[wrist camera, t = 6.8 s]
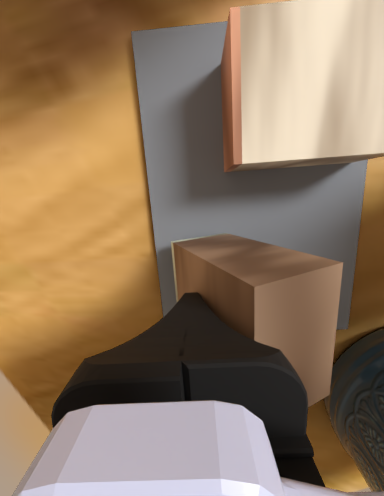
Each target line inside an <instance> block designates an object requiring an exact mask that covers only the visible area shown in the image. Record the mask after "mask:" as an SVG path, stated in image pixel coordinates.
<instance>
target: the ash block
mask: <svg viewBox="0 0 384 496" xmlns="http://www.w3.org/2000/svg"><path fill="white" fill-rule="evenodd" d="M221 91H222V122H223V153H224V172H235V171H248V170H261V169H274V168H287V167H301V166H314V165H327V164H340V163H352V162H357V161H362V160H367V159H372V158H377V157H382V156H384V0H294V1H285V2H276V3H267V4H258V5H249V6H239V7H230V12H229V18H228V23H227V29H226V35H225V41H224V47H223V53H222V59H221Z"/></svg>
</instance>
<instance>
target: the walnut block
mask: <svg viewBox="0 0 384 496" xmlns="http://www.w3.org/2000/svg"><path fill="white" fill-rule="evenodd" d="M171 247H172V258H173V269H174V279H175V290H176V300H177V302H178V301H179V299H180V298H181V297H182V296H183V294H184V293H191V292H198V293H199V294H200V295H201V297H202V299H203V300H204V302H205V303H206V305H207V306H208V307H209V308H210V310H211V311H212V312H213V313H214V314H215V315H216V316H217V317H218V318H219V319H220V320H221V321H222V322H223V323H225V324H226V325H227V326H229V327H230V328H232V329H233V330H235V331H237V332H238V333H240V334H242V335H244V336H246V337H248V338H250V339H252V340H254V341H257V342H259V343H262V344H265V345H268V346H271V347H274V348H277V349H280V350H281V351H282V353H283V354H284V355H285V357H286V358H287V359H288V361H289V362H290V363H291V365H292V366H293V368H294V369H295V370H296V372H297V374H298V375H299V377H300V379H301V381H302V383H303V385H304V387H305V389H306V391H307V397H308V407H310V406H312V405H313V404H315V403H317V402H318V401H320V400H322V399H323V398H325V397H327V396H328V395H330V385H331V376H332V366H333V356H334V347H335V337H336V327H337V317H338V308H339V298H340V288H341V279H342V269H343V262H339V261H335V260H331V259H327V258H323V257H319V256H315V255H311V254H307V253H303V252H299V251H295V250H291V249H287V248H284V247H280V246H276V245H272V244H268V243H264V242H260V241H256V240H252V239H248V238H244V237H240V236H236V235H232V234H228V233H223V234H216V235H210V236H203V237H197V238H190V239H184V240H177V241H171Z"/></svg>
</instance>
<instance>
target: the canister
mask: <svg viewBox="0 0 384 496" xmlns="http://www.w3.org/2000/svg"><path fill="white" fill-rule="evenodd" d="M324 402H325V407H326V410H327V413H328V415H329V417H330V421H331V424H332V427H333V429H334V432H335V434H336V435H337V437H338V438H339V440H340V442H341V444H342V446H343V448H344V449H345V451H346V452H347V453H348V454H349V456H350V457H351V458H352V459H353V460H354V462H355V464H356V465H357V467H358V469H359V471H360V472H361V474H362V476H363V478H364V479H365V481H366V483H367V484H368V486H369V488H370V490H371V491H372V492H384V328H383V329H380V330H378V331H375V332H373V333H371V334H369V335H367V336H365V337H364V338H362V339H360V340H359V341H357V342H356V343H355V344H353V345H352V346H351V347H350V348H348V349H347V350H346V351H345V352H344V353H343V354H342V355H341V356H340V358H339V359H338V360H337V361H336V363H335V364H334V366H333V367H332V376H331V385H330V395H328V396H327V397H325V398H324Z"/></svg>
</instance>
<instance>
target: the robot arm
mask: <svg viewBox="0 0 384 496" xmlns="http://www.w3.org/2000/svg"><path fill="white" fill-rule="evenodd" d="M307 413H308V397H307V391H306V389H305V387H304V385H303V383H302V381H301V379H300V377H299V375H298V374H297V372H296V370H295V369H294V368H293V366H292V365H291V363H290V362H289V361H288V359H287V358H286V357H285V355H284V354H283V353H282V351H281V350H280V349H277V348H274V347H271V346H268V345H265V344H262V343H259V342H257V341H254V340H252V339H250V338H248V337H246V336H244V335H242V334H240V333H238V332H237V331H235V330H233V329H232V328H230V327H229V326H227V325H226V324H225V323H223V322H222V321H221V320H220V319H219V318H218V317H217V316H216V315H215V314H214V313H213V312H212V311H211V310H210V308H209V307H208V306H207V305H206V303H205V302H204V300H203V299H202V297H201V295H200V294H199V293H198V292H191V293H184V294H183V296H182V297H181V298H180V299H179V301H178V302H177V303H176V304H175V306H174V307H173V308H172V309H171V310H170V311H169V312H168V313H167V314H166V315H165V316H164V317H163V318H162V319H161V320H160V321H159V322H157V323H156V324H155V325H154V326H152V327H151V328H149V329H148V330H146V331H145V332H143V333H142V334H140V335H138V336H137V337H135V338H133V339H132V340H130V341H128V342H126V343H124V344H122V345H119V346H117V347H115V348H113V349H110V350H108V351H105V352H103V353H100V354H97V355H95V356H92V357H89V358H86V359H84V361H83V362H82V363H81V365H80V366H79V367H78V369H77V370H76V372H75V373H74V375H73V376H72V378H71V379H70V381H69V382H68V384H67V385H66V387H65V388H64V390H63V391H62V393H61V394H60V396H59V397H58V399H57V401H56V402H55V404H54V406H53V411H52V415H51V416H52V425H53V429H52V431H51V432H50V434H49V436H48V437H47V439H46V441H45V442H44V444H43V445H42V447H41V449H40V450H39V452H38V454H37V455H36V457H35V459H34V460H33V462H32V464H31V466H30V467H29V469H28V470H27V472H26V473H25V475H24V477H23V478H22V480H21V482H20V483H19V485H18V487H17V488H16V490H15V491H14V493H13V495H12V496H384V492H348V493H347V492H343V491H339V490H334V489H330V488H326V487H325V485H324V483H323V481H322V478H321V476H320V474H319V471H318V469H317V467H316V465H315V462H314V460H313V458H312V457H313V456H314V452H313V448H312V446H311V443H310V441H309V439H308V437H307V435H306V427H307Z"/></svg>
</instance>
